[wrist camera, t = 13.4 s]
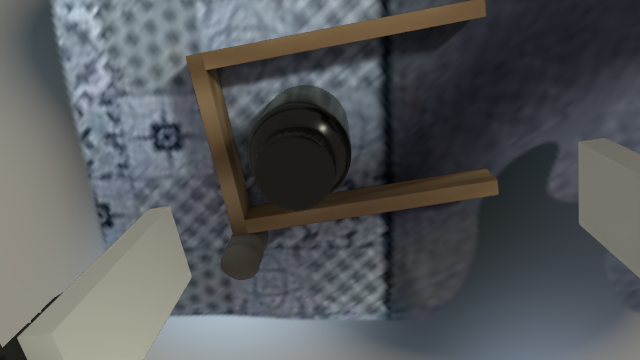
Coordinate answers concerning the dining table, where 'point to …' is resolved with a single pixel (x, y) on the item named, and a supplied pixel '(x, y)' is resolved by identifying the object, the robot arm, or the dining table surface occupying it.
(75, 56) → the dining table surface
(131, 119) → the dining table surface
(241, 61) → the bay
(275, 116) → the supplement bottle
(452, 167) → the dining table surface
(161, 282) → the robot arm
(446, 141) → the dining table surface
